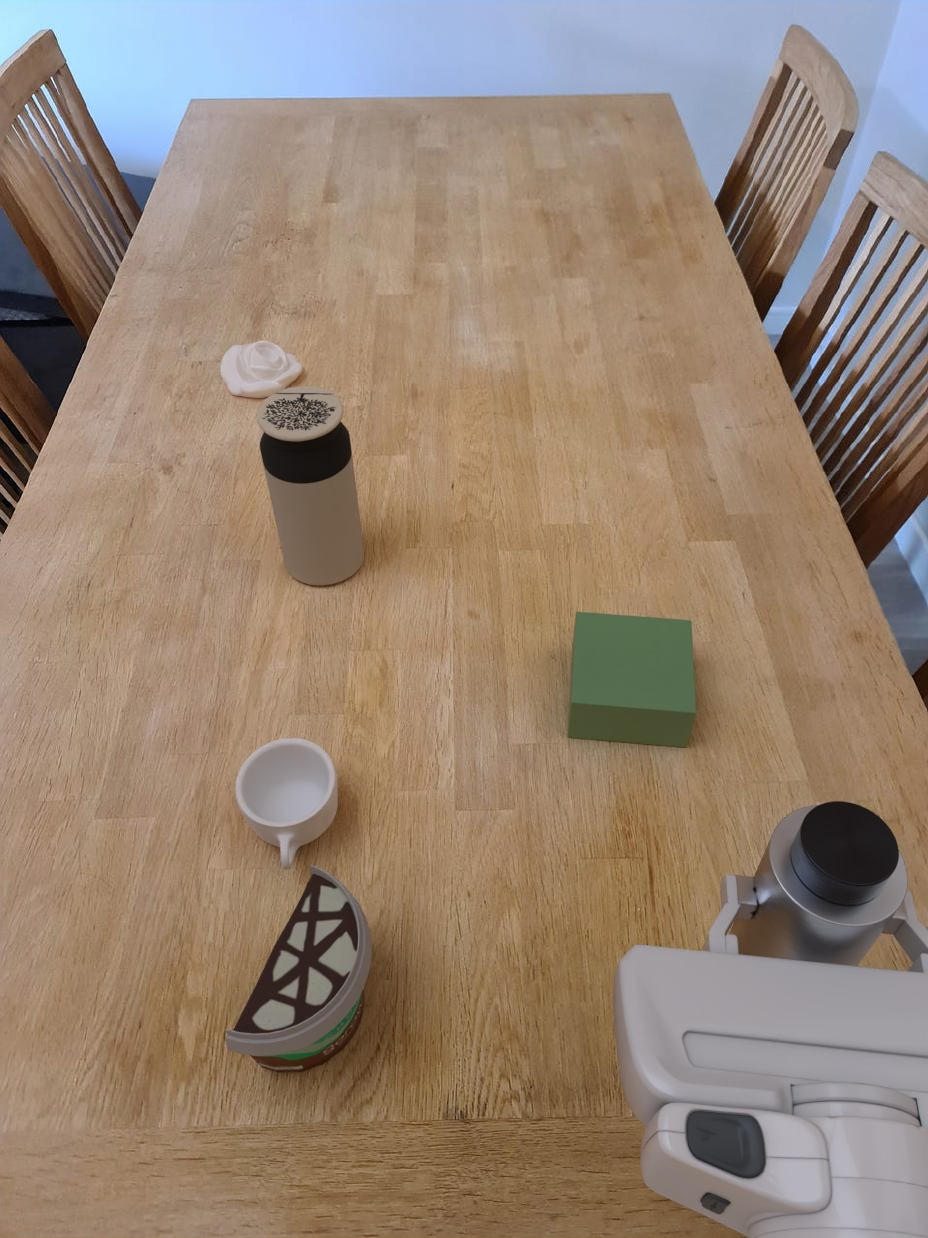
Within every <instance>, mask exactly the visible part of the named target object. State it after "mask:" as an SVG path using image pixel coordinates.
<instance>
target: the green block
mask: <svg viewBox="0 0 928 1238" xmlns="http://www.w3.org/2000/svg"><path fill="white" fill-rule="evenodd" d="M574 618H575V619H574V626H573V636H572V646H571V659H570V660H571V661H570V677H569V679H570V680H569V681H570V682H569V696H568V713H567V714H568V716H567V717H568V718H567V735H566V736H567V738H570V739H582V740H594V741H605V742H616V743H626V744H627V743H628V744H639V745H651V746H661V747H674V748H687V747H688V744H689V741H690V736H691V733H692V729H693V727H694V726H693V725H694V722H695V719H696V716H697V701H696V700H697V699H696V682H695V664H694V662H695V661H694V643H693V624H692V623H693V622H692V620H691V619H682V618H681V619H679V618H666V617H653V616H640V615H639V616H638V615H626V614H613V613H600V612H599V613H598V612H588V611H587V612H585V611H575V617H574Z"/></svg>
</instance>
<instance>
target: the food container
mask: <svg viewBox="0 0 928 1238" xmlns="http://www.w3.org/2000/svg"><path fill="white" fill-rule="evenodd" d="M309 868H310V874H311V875H310V878H309V880H308V881H307V883H306V885H305V888H304V890H303V893H302V895H301V896H300V898H299V900H298V902H297V904H296V906H295V907H294V910H293V911H292V914H291V916H290V917H289V919H288V921H287V923H286V925H285V926H284V928H283V930H282V931H281V933H280V934H279V937H278V938H277V940H276V942H275V944H274V945H273V947H272V949H271V952H270V953H269V956H268V958H267V960H266V962H265V965H264V967H263V969H262V972H261V973H260V975H259V977H258V980H257V982H256V984H255V986H254V988H253V990H252V992H251V994H250V995H249V998H248V1000H247V1001H246V1004H245V1006H244V1008H243V1010H242V1012H241V1014H240V1016H239V1018H238V1019H237V1021H236V1024H235V1026H234V1027H233V1029H230V1028H225V1030H224V1031H225V1032H226V1035H225V1036H224V1038H225V1044H226V1050H227V1051H229V1052H231V1053H232V1052H233V1053H236V1054H239V1055H244V1056H245V1055H246V1056H249V1057H250V1058H252V1060H254V1062H256V1064H258V1065H259V1067H261V1068H263V1069H265V1070H269V1071H273V1072H275V1073H303V1072H305V1071H308V1070H311V1069H314V1068H317V1067H320V1066H322V1065H325V1064H326V1063H327V1062H328V1061H330V1060H331V1059H332V1058H334V1057H335V1056H337V1055H338V1054H340V1053H341V1052H342V1051H343V1050H344V1049H345V1048H346V1046H347V1045H348V1044H349V1043H350V1041H351V1040H352V1038H354V1035H355V1034H356V1032H357V1030H358V1028H359V1026H360V1023H361V1020H362V1017H363V1012H364V1008H365V1007H364V1006H365V986H366V984H367V983H366V982H367V980H368V978H369V977H368V976H369V974H370V969H371V963H372V956H373V955H372V952H373V949H372V948H373V947H372V946H373V943H372V936H371V935H372V934H371V929H370V926H369V923H368V919H367V917H366V914H365V912H364V911H363V909H362V907H361V905H360V903H359V902H358V900H357V899H356V898H355V897H354V895H353V894H352V893H351V892H350V890H349V889H348V888H347V887H346V885H345V884H343V883H342V881H340V880H339V879H338V878H337V877H336V876H334V875H333V874H331V873H330V872H328V871H327V870H325V869H323V868H320V867H318V866H316V865H313V864H309Z"/></svg>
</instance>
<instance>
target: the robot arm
mask: <svg viewBox="0 0 928 1238" xmlns="http://www.w3.org/2000/svg"><path fill="white" fill-rule="evenodd" d="M754 887H755V878H754V875H753V876H752V875H744V874H743V875H742V874H731V873H724V874H723V877H722V880H721V883H720V891H719V894H720V909H721V910H720V911H719V913H718V915H717V917H716V918H715V920H714V922H713V924H712V925H711V927H710V929H709V930H708V932H707V935H706V937H705V939H704V942H703V945H702V947H701V950H699V949H691V948H690V949H688V948H678V947H669V946H659V945H650V944H635V945H633V946H632V947H631V948H629V949H628V950H627V951H626V952H625V953H624V955H623V956H622V957H621V958H620V959H619V961H618V962H617V965H616V968H615V971H614V975H613V976H614V977H613V985H612V1009H613V1010H612V1013H613V1026H614V1040H615V1048H616V1049H615V1050H616V1056H617V1063H618V1070H619V1076H620V1081H621V1086H622V1091H623V1094H624V1098H625V1100H626V1103H627V1105H628V1107H629V1109H630V1111H631V1113H632V1114H633V1115H634V1117H635V1119H636V1120H638V1122H640V1123H641V1125H643V1126H644V1127H645V1130H644V1132H643V1136H642V1139H641V1144H640V1153H639V1154H640V1159H639V1160H640V1161H639V1163H640V1172H641V1173H640V1174H641V1178H642V1180H643V1183H644V1184H645V1186H647V1188H648V1189H650V1190H651V1191H653V1192H654V1193H656V1194H658V1195H660V1196H662V1197H664V1198H666V1199H668V1200H670V1201H672V1202H675V1203H677V1204H678V1205H681V1206H683V1207H686V1208H687V1209H690V1210H692V1211H694V1212H696V1213H698V1214H701V1216H705V1217H707V1218H709V1219H711V1220H713V1221H715V1222H717V1223H719V1224H721V1225H723V1226H725V1227H727V1228H729V1229H731V1230H733V1231H734V1232H735V1231H736V1232H737V1233H739V1234H741V1235H743V1236H745V1237H746V1238H928V929H927V927H926V926H925V925H924V924H923V922H922V921H920V920H918V914H917V911H916V905H915V902H914V897H913V893H912V892H911V890H908V889H907V892H906V895H905V898H904V901H903V902H902V904H901V906H900V907H899V909H898V910H897V912H896V913H895V914H894V916H893V917H892V919H891V920H890V921H889V923H888V924H887V926H886V927H885V928H884V930H883V931H882V933H881V934H882V935H883V934H884V935H892V936H893V937H894V938H895V940H896V941H897V943H898V944H899V945H900V947H901V948H902V950H903V951H904V953H905V954H906V955H907V957H908V958H909V959H910V961H911V963H912V965H911V966H910V967H909V969H907V970H902V969H901V970H900V969H893V968H892V969H891V968H890V969H889V968H880V967H870V966H860V965H858V966H851V965H841V964H831V963H821V962H811V961H801V960H791V959H780V958H770V957H760V956H750V955H740V954H739V951H738V940H737V936H735V935H732V934H729V932H730V930H731V928H732V925H733V923H734V921H735V920H749V921H750V920H751V918H752V916H753V912H754V911H755V910H756V907H757V897H756V892H755V891H754V890H753V889H754Z"/></svg>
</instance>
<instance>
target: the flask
mask: <svg viewBox="0 0 928 1238" xmlns="http://www.w3.org/2000/svg"><path fill="white" fill-rule="evenodd" d="M753 877H754V878H755V887H754V889H753V890H754V891H755V892H756V897H757V907H756V910H755V911H754V912H753V916H752V918H751V920H750V921H749V920H735V921H734V922H733V924H732V926H731V928H730V929H729V931H728V934H732V935H735V936H737V940H738V951H739V954H740V955H750V956H760V957H770V958H780V959H791V960H801V961H811V962H821V963H831V964H841V965H851V966H860V964H861V962H863V960H864V958H865V956H866V955H867V954H868V953H869V951H870V950H871V949H872V947H873V945H874V944H875V943H876V941H877V940H878V939H879V937H880V936H881V934H883V933H882V931H883V930H884V928H885V927H886V926H887V924H888V923H889V921H890V920H891V919H892V917H893V916H894V914H895V913H896V912H897V910H898V909H899V907H900V906H901V904H902V902H903V901H904V898H905V895H906V892H907V890H908V885H909V876H908V869H907V864H906V861H905V859H904V856H903V854H902V852H901V850H900V849H899V844H898V841H897V839H896V836H895V834H894V833H893V831H892V829H891V828H890V826H889V825H888V823H886V821H885V820H884V819H882V818H881V817H880V816H879V815H878V814H876V813H875V812H874V811H872V810H870V809H868V807H865V806H863V805H860V804H858V803H854V802H851V801H844V800H833V801H827V802H823V803H821V804H813V805H808V806H803V807H800V808H798V809H795V810H794V811H793V810H792V811H791V812H790V813H789V814H787V815H786V816H784V817H783V818H782V819H781V820H780V821H779V822H778V823H777V825H776V826H775V828H774V829H773V832H772V834H771V836H770V839H769V841H768V843H767V845H766V848H765V850H764V852H763V855H762V856H761V859H760V861H759V864H758V866H757V869H756V871H755V873H754V875H753Z"/></svg>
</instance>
